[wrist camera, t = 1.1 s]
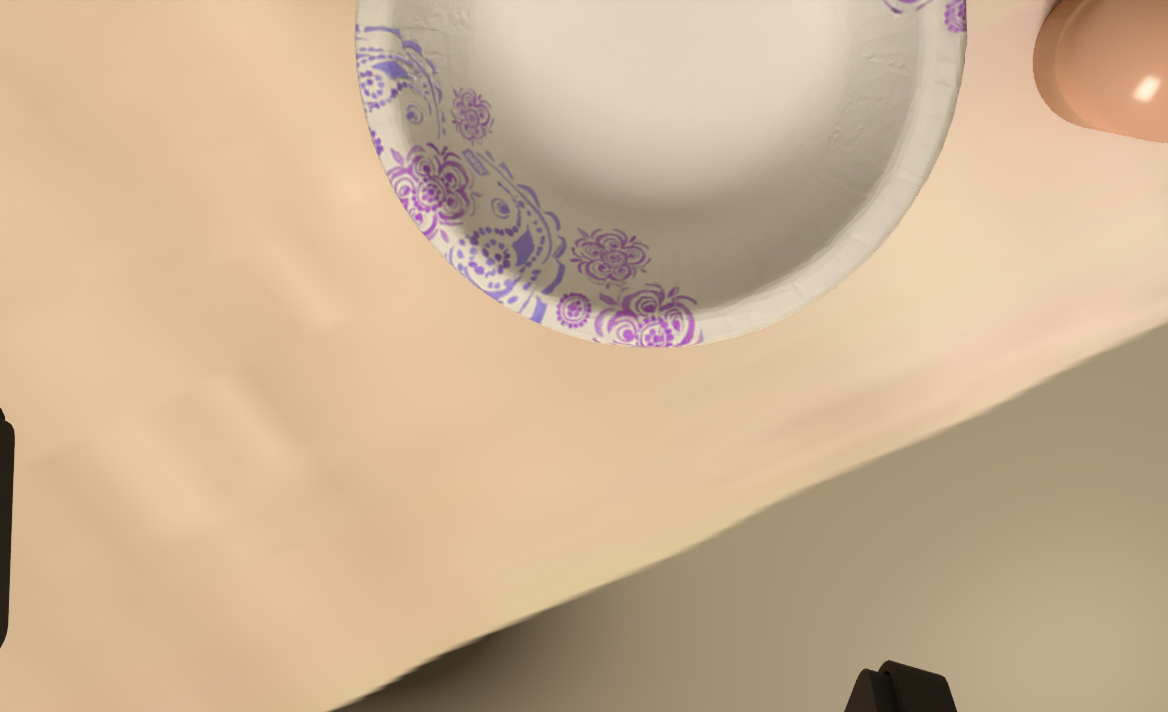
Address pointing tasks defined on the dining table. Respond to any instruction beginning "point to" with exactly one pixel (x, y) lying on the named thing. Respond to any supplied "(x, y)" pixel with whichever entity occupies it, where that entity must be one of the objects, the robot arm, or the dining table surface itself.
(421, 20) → the paper bowls
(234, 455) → the dining table surface
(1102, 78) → the cylinder
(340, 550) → the dining table surface
